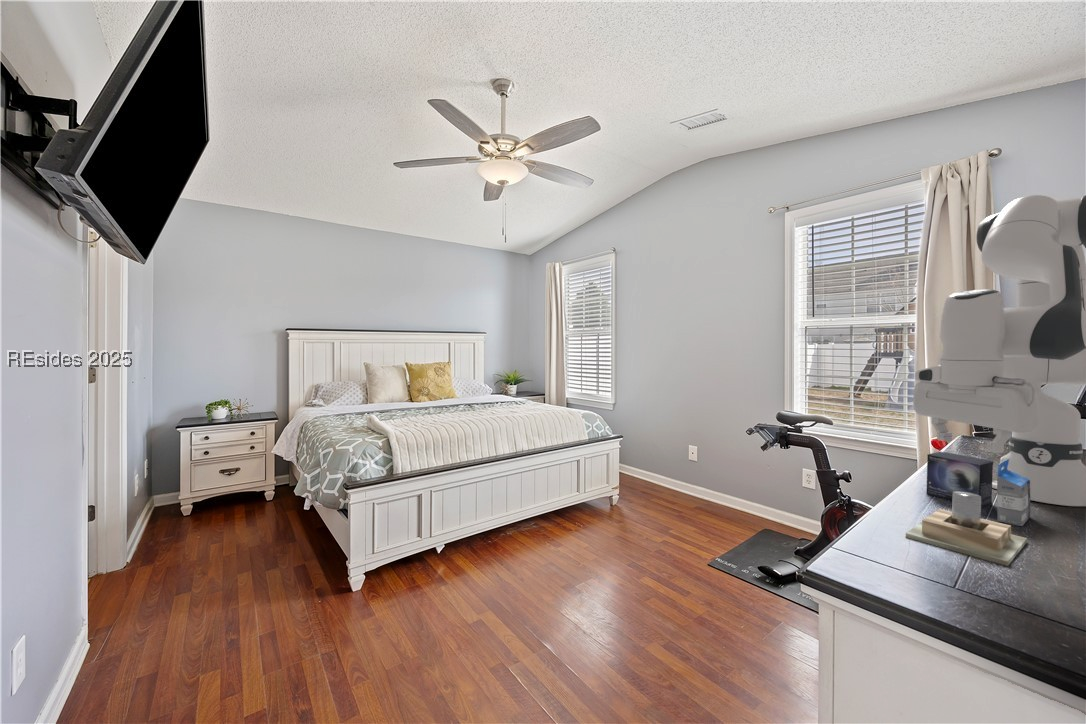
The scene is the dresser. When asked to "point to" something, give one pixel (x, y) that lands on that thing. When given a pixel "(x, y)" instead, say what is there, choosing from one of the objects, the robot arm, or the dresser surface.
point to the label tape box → (1012, 496)
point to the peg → (966, 510)
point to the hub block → (969, 537)
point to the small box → (959, 476)
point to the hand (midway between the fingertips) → (968, 446)
